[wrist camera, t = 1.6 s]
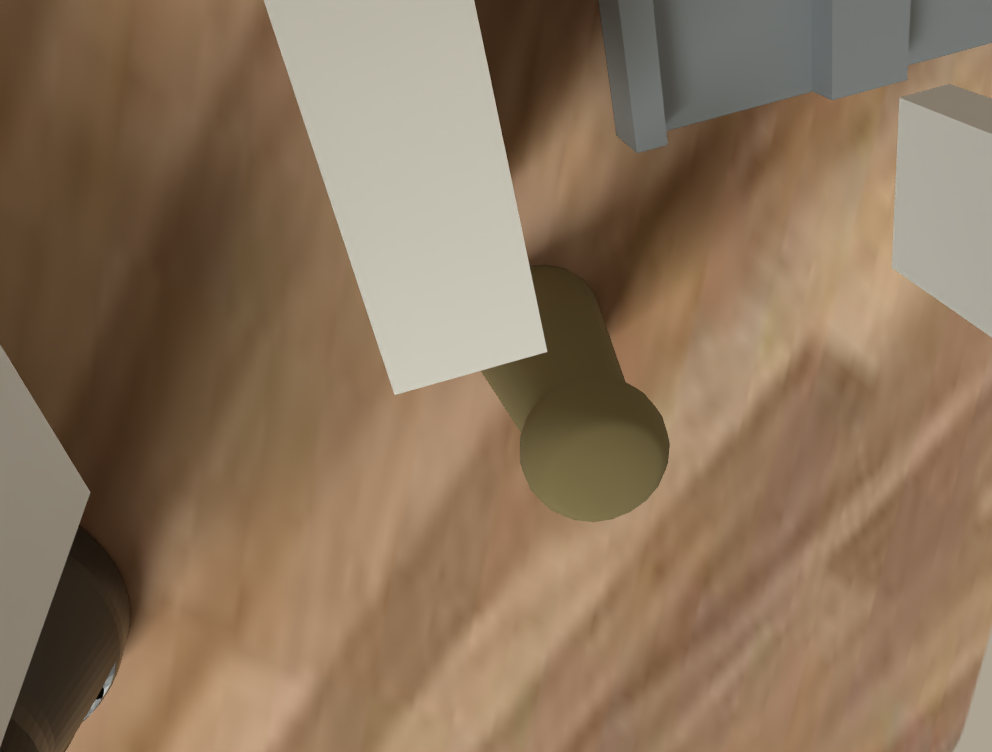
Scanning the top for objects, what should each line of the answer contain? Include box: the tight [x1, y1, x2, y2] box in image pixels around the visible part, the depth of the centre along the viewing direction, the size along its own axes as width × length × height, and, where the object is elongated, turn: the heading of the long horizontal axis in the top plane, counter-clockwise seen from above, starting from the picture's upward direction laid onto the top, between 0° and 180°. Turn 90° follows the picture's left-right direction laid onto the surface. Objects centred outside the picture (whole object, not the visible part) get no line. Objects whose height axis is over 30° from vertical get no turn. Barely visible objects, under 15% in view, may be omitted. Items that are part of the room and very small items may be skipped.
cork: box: [481, 265, 670, 522], centre depth 33 cm, size 6×6×11 cm
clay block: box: [264, 0, 547, 395], centre depth 26 cm, size 4×14×12 cm, turn 12°
